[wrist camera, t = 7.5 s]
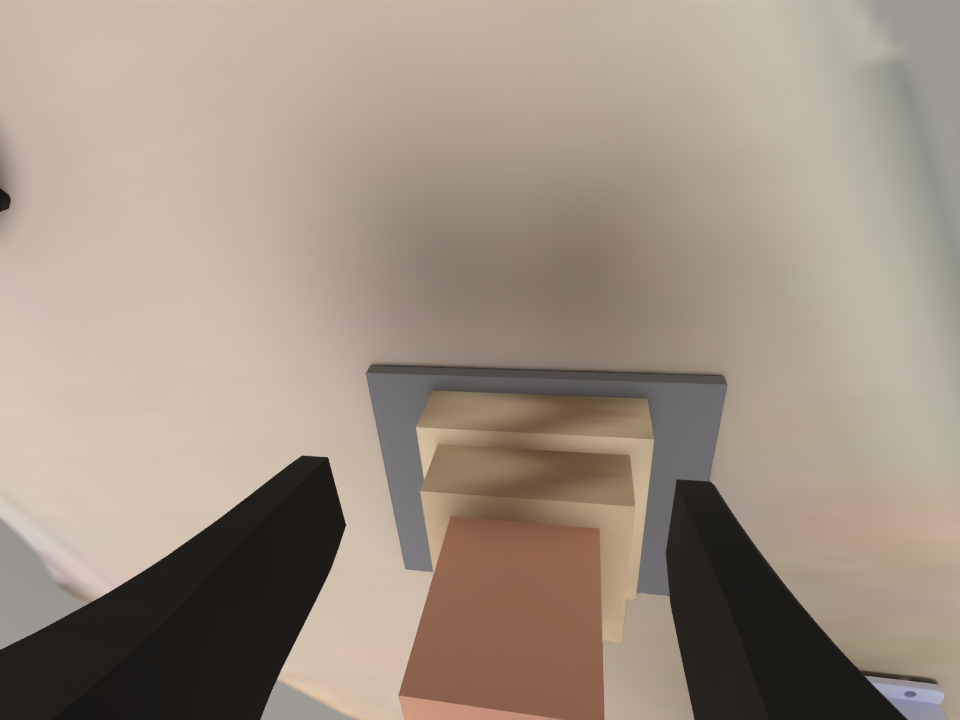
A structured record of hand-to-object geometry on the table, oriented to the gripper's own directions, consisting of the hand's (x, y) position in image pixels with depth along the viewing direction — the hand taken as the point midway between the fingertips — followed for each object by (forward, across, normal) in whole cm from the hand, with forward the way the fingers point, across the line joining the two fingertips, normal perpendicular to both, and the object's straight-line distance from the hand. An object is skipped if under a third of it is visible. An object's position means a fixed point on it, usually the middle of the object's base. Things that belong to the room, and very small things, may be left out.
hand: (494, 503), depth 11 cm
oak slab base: (+10, 0, +8) cm, 13 cm away
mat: (+10, 0, +9) cm, 14 cm away
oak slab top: (+7, 0, +8) cm, 11 cm away
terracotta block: (+5, 0, +8) cm, 9 cm away
